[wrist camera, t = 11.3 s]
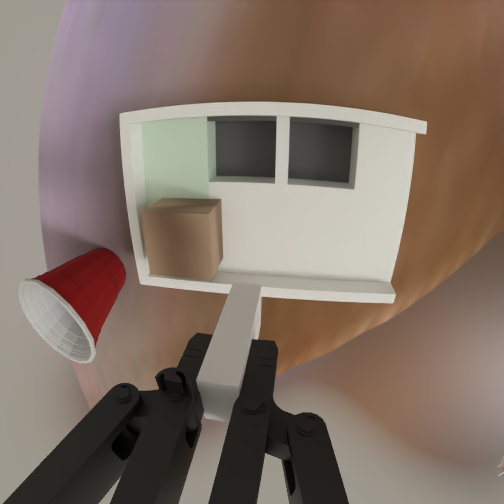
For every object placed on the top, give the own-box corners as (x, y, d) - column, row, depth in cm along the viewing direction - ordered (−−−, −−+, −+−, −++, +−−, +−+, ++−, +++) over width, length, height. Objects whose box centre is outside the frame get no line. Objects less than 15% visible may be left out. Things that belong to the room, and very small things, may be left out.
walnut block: (221, 199, 24) (208, 214, 20) (223, 257, 26) (212, 280, 23) (161, 198, 24) (141, 212, 21) (167, 253, 27) (150, 274, 23)
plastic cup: (71, 278, 35) (19, 329, 24) (82, 214, 30) (12, 259, 19) (133, 318, 36) (90, 382, 25) (154, 258, 31) (97, 325, 20)
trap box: (403, 120, 21) (427, 122, 17) (380, 275, 28) (393, 303, 24) (147, 112, 24) (119, 113, 19) (160, 260, 31) (140, 284, 26)
